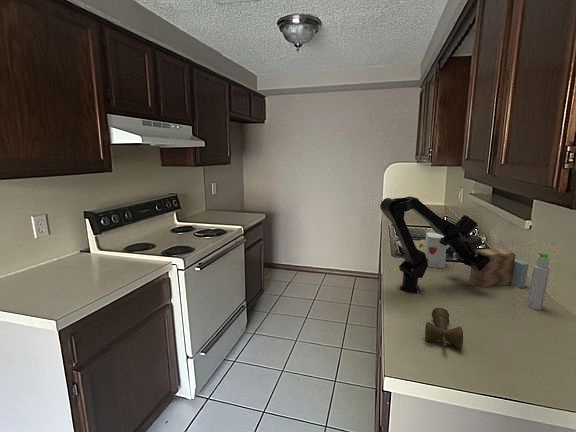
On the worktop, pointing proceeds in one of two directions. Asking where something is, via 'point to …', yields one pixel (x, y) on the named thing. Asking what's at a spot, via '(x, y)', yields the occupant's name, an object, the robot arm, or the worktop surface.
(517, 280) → the board
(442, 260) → the supplement box
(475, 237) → the robot arm
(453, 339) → the kendama
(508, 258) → the walnut box
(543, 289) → the bottle
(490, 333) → the worktop surface
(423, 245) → the cheese
